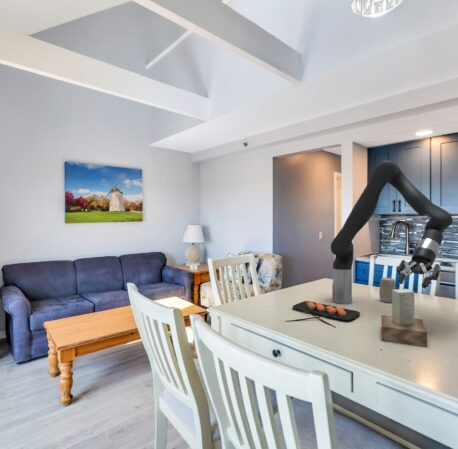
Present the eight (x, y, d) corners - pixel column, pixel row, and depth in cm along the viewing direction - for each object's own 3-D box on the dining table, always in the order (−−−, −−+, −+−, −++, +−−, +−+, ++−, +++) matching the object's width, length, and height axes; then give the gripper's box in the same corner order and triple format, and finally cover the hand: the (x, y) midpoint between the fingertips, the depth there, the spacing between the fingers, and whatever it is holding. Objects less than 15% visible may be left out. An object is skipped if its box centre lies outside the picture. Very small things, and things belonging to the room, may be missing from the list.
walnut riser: (381, 340, 114) (381, 326, 114) (381, 327, 126) (381, 314, 126) (427, 346, 108) (427, 332, 108) (422, 332, 120) (422, 319, 120)
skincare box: (408, 320, 119) (408, 288, 119) (415, 324, 115) (415, 291, 114) (391, 320, 119) (391, 289, 119) (397, 325, 115) (397, 292, 114)
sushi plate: (362, 316, 141) (362, 307, 141) (331, 335, 120) (331, 325, 120) (305, 303, 162) (305, 296, 162) (270, 318, 141) (270, 310, 140)
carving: (395, 304, 157) (395, 280, 156) (378, 302, 160) (378, 278, 160) (396, 300, 162) (396, 277, 162) (379, 299, 166) (379, 276, 165)
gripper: (404, 245, 131) (389, 276, 125) (442, 248, 119) (428, 282, 113) (410, 256, 134) (396, 287, 128) (448, 260, 122) (435, 294, 116)
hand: (411, 285), depth 120 cm, fingers open, 8 cm apart
